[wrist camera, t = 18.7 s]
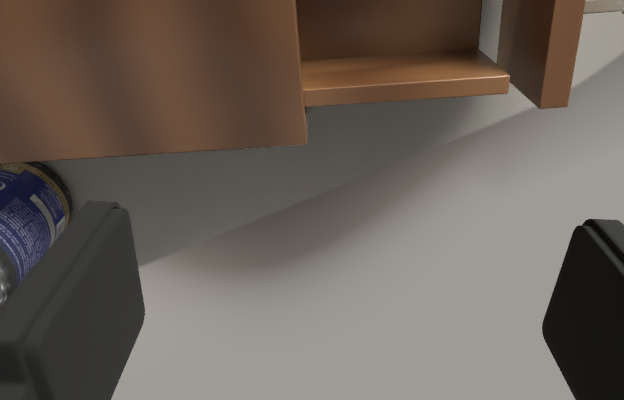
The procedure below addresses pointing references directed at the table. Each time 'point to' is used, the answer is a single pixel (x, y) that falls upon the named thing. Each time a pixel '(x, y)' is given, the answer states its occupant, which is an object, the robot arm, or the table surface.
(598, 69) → the table surface
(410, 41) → the drawer
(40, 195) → the pill bottle
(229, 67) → the cabinet
